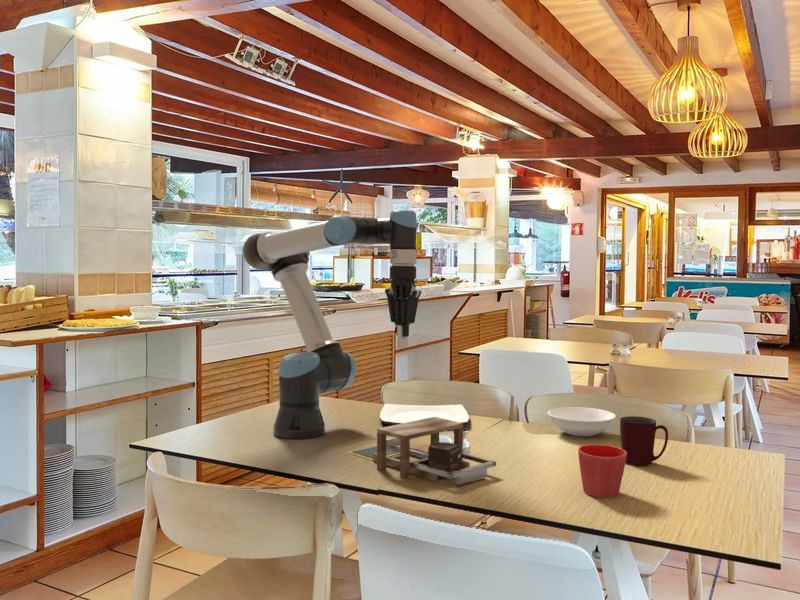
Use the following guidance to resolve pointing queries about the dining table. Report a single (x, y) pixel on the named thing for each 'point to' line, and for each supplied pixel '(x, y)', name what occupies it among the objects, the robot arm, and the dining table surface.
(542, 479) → the dining table surface
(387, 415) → the plate
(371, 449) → the mat
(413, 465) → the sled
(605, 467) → the flower pot
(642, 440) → the mug
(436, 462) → the box
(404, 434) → the tunnel
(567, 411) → the bowl
